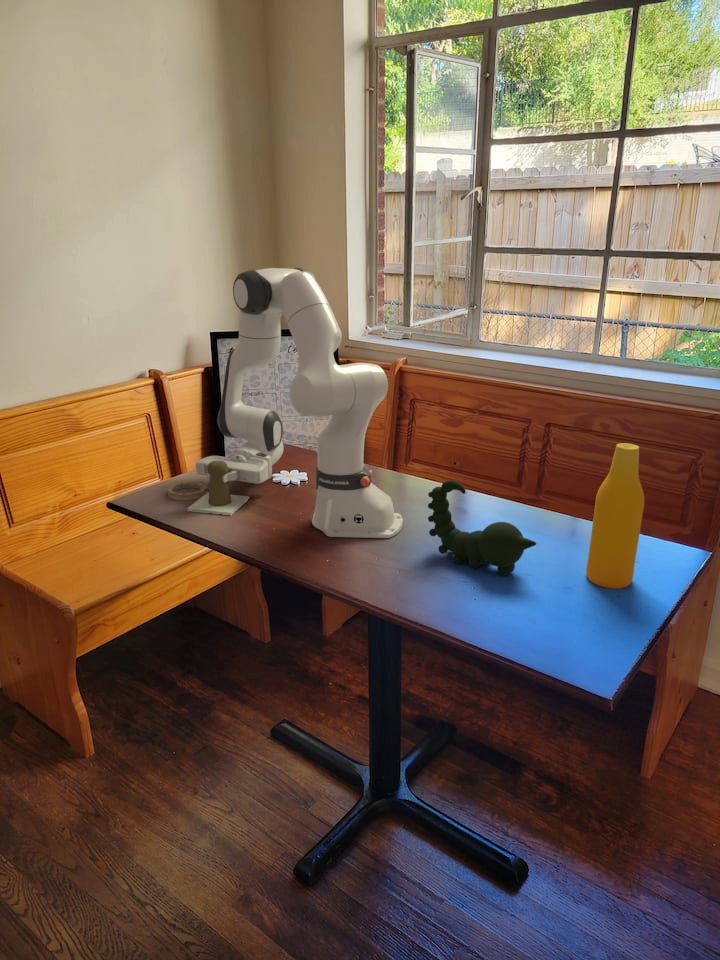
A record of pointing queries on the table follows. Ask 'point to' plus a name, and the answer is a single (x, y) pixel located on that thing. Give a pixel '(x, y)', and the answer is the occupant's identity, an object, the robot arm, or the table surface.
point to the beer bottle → (617, 521)
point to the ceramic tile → (227, 509)
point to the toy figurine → (475, 536)
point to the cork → (218, 484)
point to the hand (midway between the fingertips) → (215, 478)
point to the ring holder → (187, 495)
